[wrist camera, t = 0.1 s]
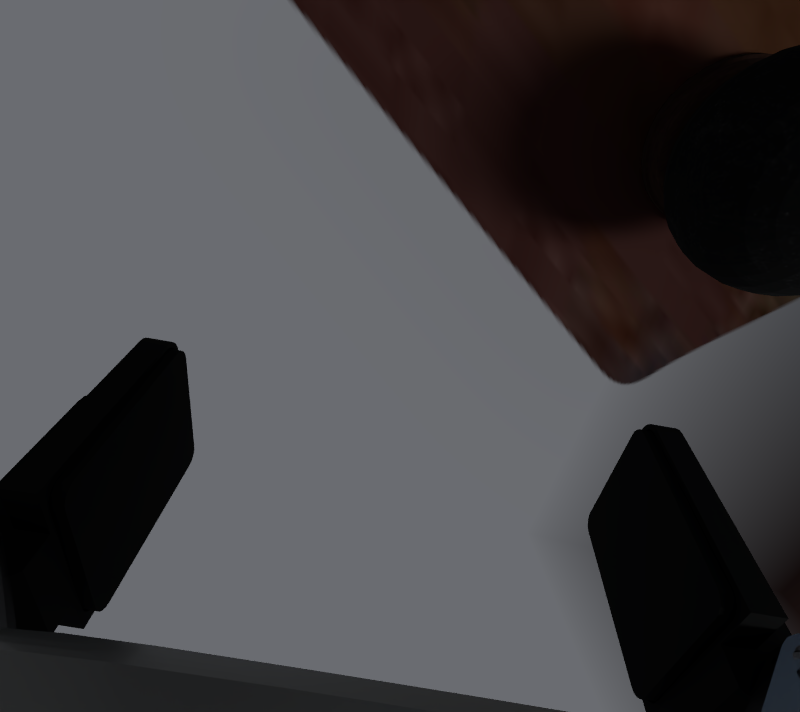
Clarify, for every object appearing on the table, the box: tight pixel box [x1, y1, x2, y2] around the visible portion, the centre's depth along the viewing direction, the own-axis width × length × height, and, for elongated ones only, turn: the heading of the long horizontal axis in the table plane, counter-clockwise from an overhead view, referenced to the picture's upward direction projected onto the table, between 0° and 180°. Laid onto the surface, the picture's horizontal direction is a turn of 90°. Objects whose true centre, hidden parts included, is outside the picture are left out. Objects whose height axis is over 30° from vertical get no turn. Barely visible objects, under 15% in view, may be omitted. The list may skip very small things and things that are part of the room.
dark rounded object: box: [642, 45, 800, 296], centre depth 29 cm, size 13×13×15 cm
